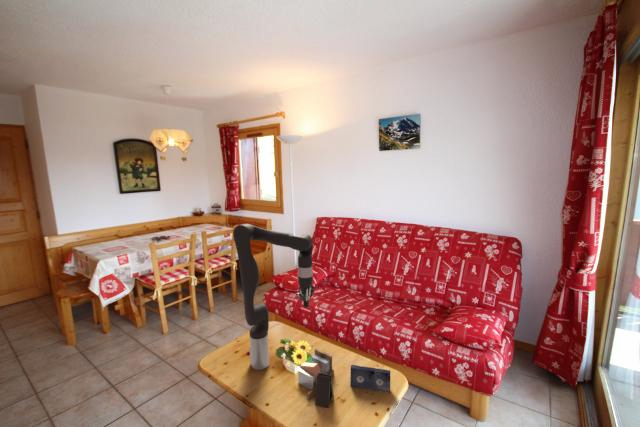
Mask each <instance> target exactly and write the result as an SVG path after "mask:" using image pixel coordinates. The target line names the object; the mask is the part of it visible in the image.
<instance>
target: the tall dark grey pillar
mask: <svg viewBox="0 0 640 427" xmlns="http://www.w3.org/2000/svg"><path fill="white" fill-rule="evenodd" d="M312 361H313V362H314V363H317V364H318V365H319V368H320V372H321V374H326V375H331V378H332V377H333V376H334V375H335V370H334V369H333V355H332V354H330V353H327V352H325V351H322V350H321V349H318V348H315V349H314V354H313V355H312V356H311V362H312ZM316 386H317V384H316V385H315V386H314V387H313V388H312V389H311V390H310V389H309V391H308V392H307V395H306V396H307V399H308V400H310V399H311V398H312V397H313V396H314V395H316Z"/></svg>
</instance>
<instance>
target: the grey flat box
mask: <svg viewBox="0 0 640 427" xmlns="http://www.w3.org/2000/svg"><path fill="white" fill-rule="evenodd" d="M297 371H298V372H297V373H298V377H297V378H298V384H300V385H301V386H303V387H306V388H307V389H309V391H310V390H311V389H312V388H313V387H314V386H315V385H316V375H315V374H313V373H311V372H308V371H306V370H304V369H302V368H300V367H299V368H298V370H297Z"/></svg>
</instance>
